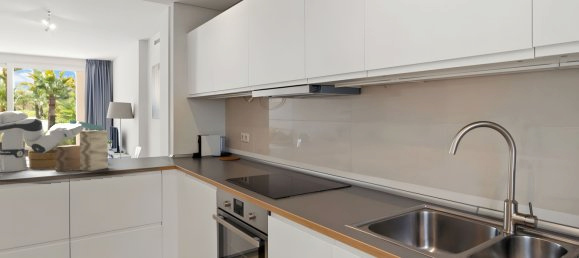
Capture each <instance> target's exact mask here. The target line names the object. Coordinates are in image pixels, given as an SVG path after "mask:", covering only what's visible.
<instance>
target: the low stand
mask: <svg viewBox="0 0 579 258" xmlns="http://www.w3.org/2000/svg"><path fill="white" fill-rule="evenodd" d="M54 148H55V149H54V150H55V157H56V168H55V171H56V172H70V171H76V170H80V144H70V145H69V144H67V145H58V146H57V145H56V146H55V147H54Z"/></svg>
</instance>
